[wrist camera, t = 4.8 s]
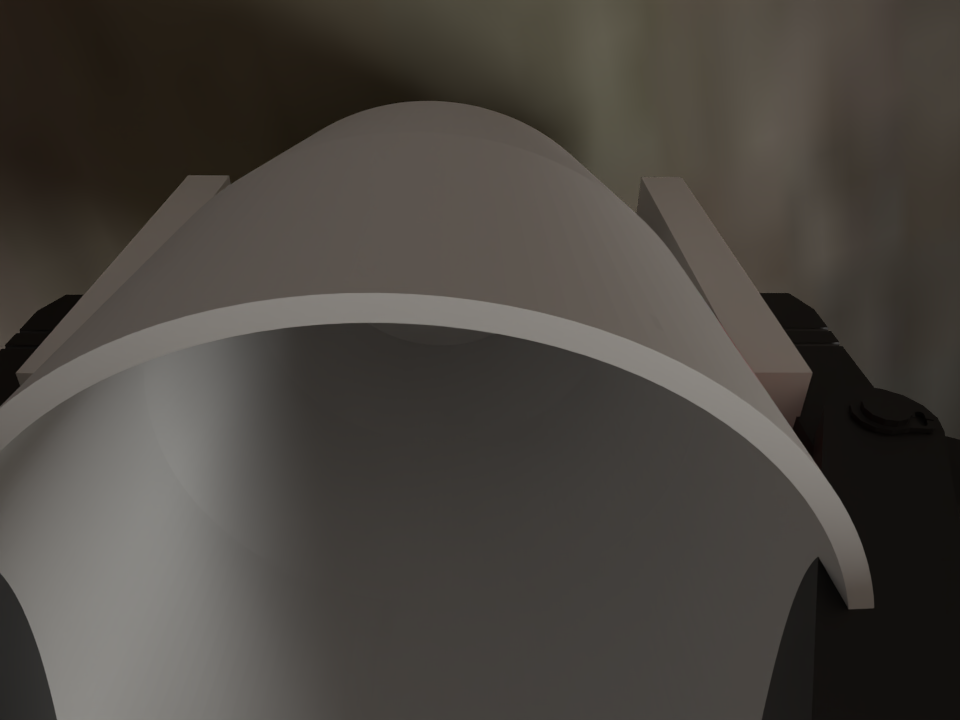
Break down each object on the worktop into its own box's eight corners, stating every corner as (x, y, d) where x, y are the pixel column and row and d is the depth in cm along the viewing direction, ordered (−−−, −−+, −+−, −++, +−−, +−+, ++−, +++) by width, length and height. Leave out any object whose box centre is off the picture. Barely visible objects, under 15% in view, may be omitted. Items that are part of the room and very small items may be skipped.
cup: (566, 435, 18) (655, 941, 10) (209, 361, 17) (-48, 867, 8) (713, 85, 14) (1098, 443, 5) (250, -48, 13) (-187, 145, 4)
